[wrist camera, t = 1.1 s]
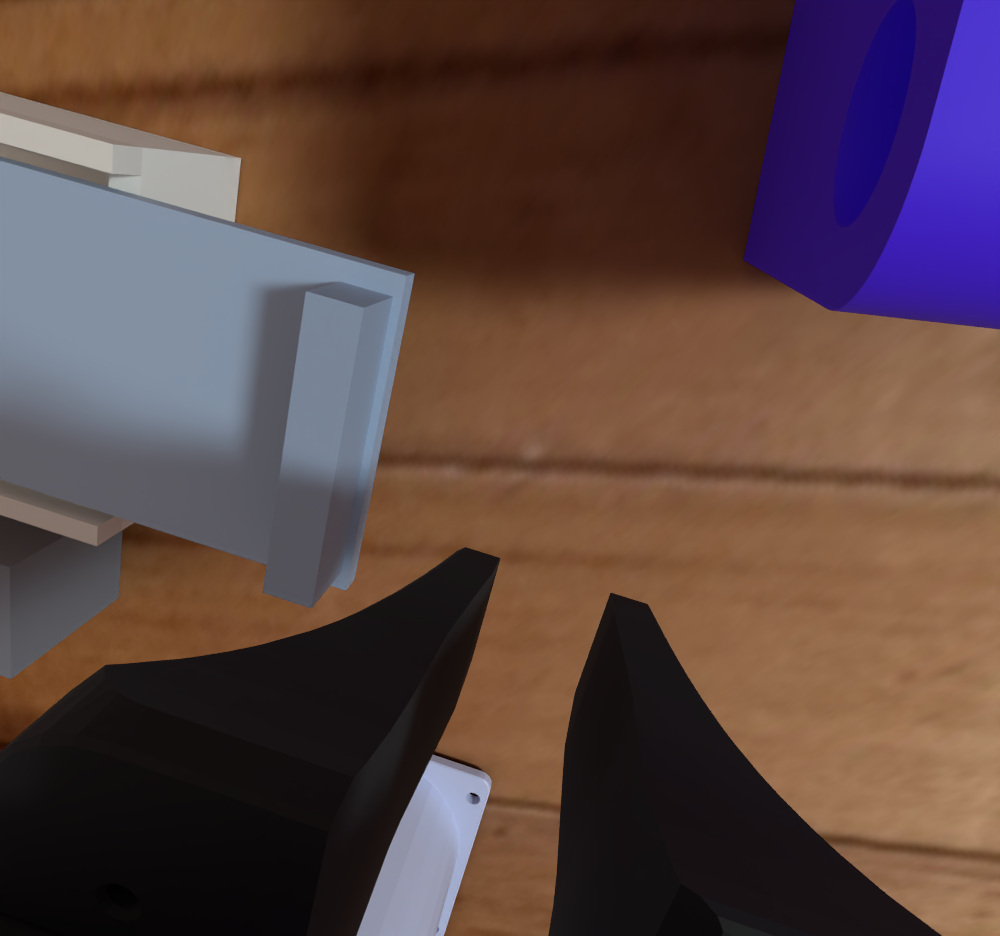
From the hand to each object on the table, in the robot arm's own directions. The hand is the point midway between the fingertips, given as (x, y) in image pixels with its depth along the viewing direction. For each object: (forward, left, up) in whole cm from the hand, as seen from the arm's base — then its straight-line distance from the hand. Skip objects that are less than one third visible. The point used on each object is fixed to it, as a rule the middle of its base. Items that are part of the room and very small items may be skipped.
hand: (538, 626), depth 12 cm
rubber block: (-9, +17, -10) cm, 22 cm away
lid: (0, +11, -6) cm, 12 cm away
